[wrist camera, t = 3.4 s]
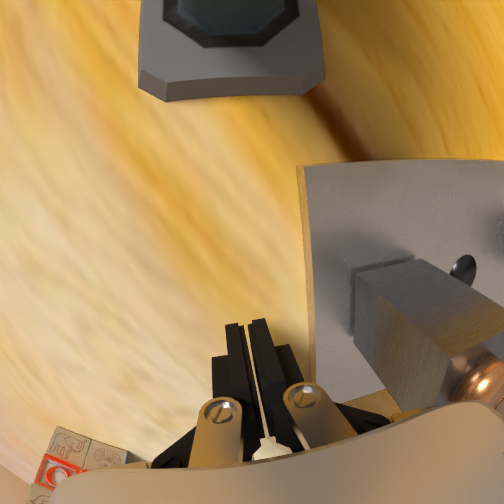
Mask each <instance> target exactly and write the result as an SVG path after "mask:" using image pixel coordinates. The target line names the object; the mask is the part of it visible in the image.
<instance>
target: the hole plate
mask: <svg viewBox="0 0 504 504" xmlns="http://www.w3.org/2000/svg"><path fill="white" fill-rule="evenodd" d="M296 170H297V179H298V188H299V198H300V208H301V219H302V230H303V242H304V254H305V268H306V283H307V300H308V319H309V342H310V375H311V383H315V384H317V385H320V386H321V387H322V388H323V389H324V390H325V392H326V393H327V394H328V396H329V397H330V398H331V400H332V401H333V402H336V403H344V402H347V401H350V400H353V399H357V398H360V397H363V396H366V395H369V394H372V393H375V392H378V391H381V390H383V389H386V388H385V386H384V385H383V383H382V382H381V381H380V379H379V378H378V376H377V375H376V374H375V372H374V371H373V369H372V368H371V367H370V365H369V364H368V362H367V361H366V360H365V358H364V357H363V356H362V354H361V353H360V351H359V350H358V349H357V347H356V346H355V344H354V343H353V338H354V316H355V273H358V272H363V271H367V270H372V269H377V268H381V267H386V266H390V265H395V264H399V263H404V262H408V261H413V260H417V259H423V260H425V261H427V262H429V263H430V264H432V265H434V266H436V267H437V268H439V269H441V270H443V271H444V272H446V273H448V274H450V275H451V276H453V277H455V278H457V279H458V280H460V281H462V282H463V283H465V284H467V285H468V286H470V287H472V288H473V289H475V290H476V291H478V292H480V293H481V294H483V295H485V296H486V297H488V298H489V299H491V300H493V301H494V302H496V303H497V304H499V305H500V306H502V307H503V308H504V160H487V159H449V158H428V159H387V160H366V161H350V162H336V163H324V164H312V165H302V166H296Z"/></svg>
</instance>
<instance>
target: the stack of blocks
mask: <svg viewBox="0 0 504 504" xmlns="http://www.w3.org/2000/svg"><path fill="white" fill-rule="evenodd" d="M127 455H128V451H125V450H122V449H119V448H115V447H112V446H109V445H106V444H103V443H100V442H97V441H94V440H91V439H89V438H87V437H84V436H81V435H78V434H76V433H73V432H71V431H68V430H66V429H63V428H61V427H58V426H57V427H56V429H55V431H54V434H53V436H52V438H51V440H50V443H49V446H48V448H47V451H46V453H45V454H44V456H43V459H42V461H41V464H40V467H39V469H38V472H37V475H36V478H35V481H34V483H32V484H31V487H30V489H29V493H28V495H27V498H26V501H25V504H48V502H49V499H50V497H51V495H52V493H53V491H54V489H55V488H56V486H57V485H58V484H59V483H60V482H61V481H62V480H64V479H65V478H68V477H70V476H73V475H75V474H79V473H83V472H88V471H93V470H94V469H96V468H100V467H108V466H115V465H122V464H126V463H127Z"/></svg>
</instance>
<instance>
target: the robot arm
mask: <svg viewBox="0 0 504 504" xmlns="http://www.w3.org/2000/svg"><path fill="white" fill-rule="evenodd" d="M225 329H226V340H227V350H228V355H224V356H218V357H212V388H213V399H211V400H209V401H208V402H206V403H205V404H204V405H203V406H202V407H201V410H200V412H199V417H198V422H197V426H195V427H194V428H193V429H192V430H190V431H189V432H188V433H187V434H186V435H184V436H183V437H182V438H181V439H179V440H178V441H177V442H175V443H174V444H173V445H172V446H170V447H169V448H168V449H166V450H165V451H164V452H162V453H161V454H160V455H158V456H157V457H156V458H155V459H154V460H153V462H150V463H147V462H146V461H140V462H135V463H129V464H122V465H115V466H108V467H100V468H96V469H94V470H93V471H88V472H83V473H79V474H75V475H73V476H70V477H68V478H65V479H64V480H62V481H61V482H60V483H59V484H58V485H57V486H56V488H55V489H54V491H53V493H52V495H51V497H50V499H49V502H48V504H504V417H503V416H502V415H501V414H500V413H498V412H497V411H496V410H495V409H494V408H492V407H491V406H489V405H488V404H486V403H484V402H481V401H477V400H463V401H456V402H450V403H447V404H443V405H442V404H439V405H433V406H429V407H425V408H421V409H416V410H412V411H407V412H402V413H397V414H392V417H390V418H386V417H384V416H382V415H379V414H375V413H371V412H368V411H364V410H360V409H357V408H353V407H350V406H346V405H343V404H340V403H336V402H333V401H332V400H331V398H330V397H329V396H328V394H327V393H326V392H325V390H324V389H323V388H322V387H321V386H320V385H317V384H315V383H311V382H305V381H304V379H303V376H302V374H301V372H300V369H299V367H298V364H297V362H296V360H295V357H294V355H293V352H292V350H291V348H290V345H289V344H286V345H281V346H276V347H274V344H273V341H272V338H271V335H270V332H269V329H268V326H267V323H266V320H265V318H263V319H257V320H252V324H248V331H249V337H250V343H251V349H252V355H253V361H254V367H255V373H256V378H257V383H258V387H259V392H260V396H261V401H262V405H263V410H264V414H265V419H266V423H267V428H268V432H269V436H270V437H272V436H275V438H276V442H277V443H280V444H282V445H284V446H286V447H288V451H289V453H290V454H287V455H282V456H277V457H272V458H266V459H260V460H254V455H253V454H254V453H255V452H256V451H257V450H258V449H259V448H260V446H261V443H260V439H261V438H265V434H264V428H263V423H262V418H261V412H260V407H259V401H258V395H257V390H256V385H255V380H254V375H253V370H252V365H251V360H250V355H249V350H248V345H247V340H246V335H245V330H244V325H242V326H238V323H234V324H227V325H225Z"/></svg>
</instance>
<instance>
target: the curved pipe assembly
mask: <svg viewBox="0 0 504 504" xmlns="http://www.w3.org/2000/svg"><path fill="white" fill-rule="evenodd" d="M323 80H325V68H324V57H323V48H322V40H321V32H320V25H319V18H318V11H317V5H316V0H141V10H140V26H139V51H138V88H140V89H142V90H144V91H146V92H148V93H149V94H151V95H153V96H155V97H157V98H158V99H160V100H162V101H164V102H170V101H178V100H187V99H198V98H210V97H224V96H246V95H298V96H302V95H303V94H305V93H306V92H308V91H309V90H310V89H312V88H313V87H315V86H316V85H318V84H319V83H320V82H322V81H323Z"/></svg>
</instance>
